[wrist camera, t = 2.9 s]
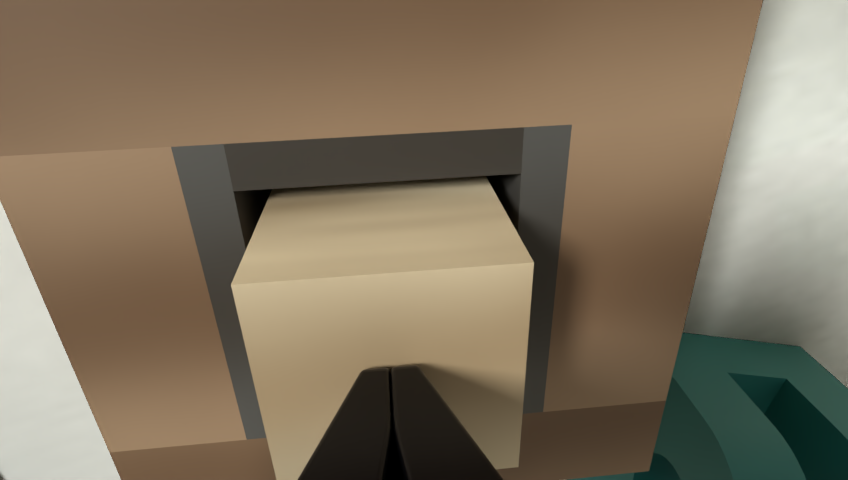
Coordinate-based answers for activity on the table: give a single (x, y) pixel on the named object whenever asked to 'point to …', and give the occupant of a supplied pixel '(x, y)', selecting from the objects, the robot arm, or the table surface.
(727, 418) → the bracket
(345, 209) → the peg
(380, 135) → the band block
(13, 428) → the table surface
